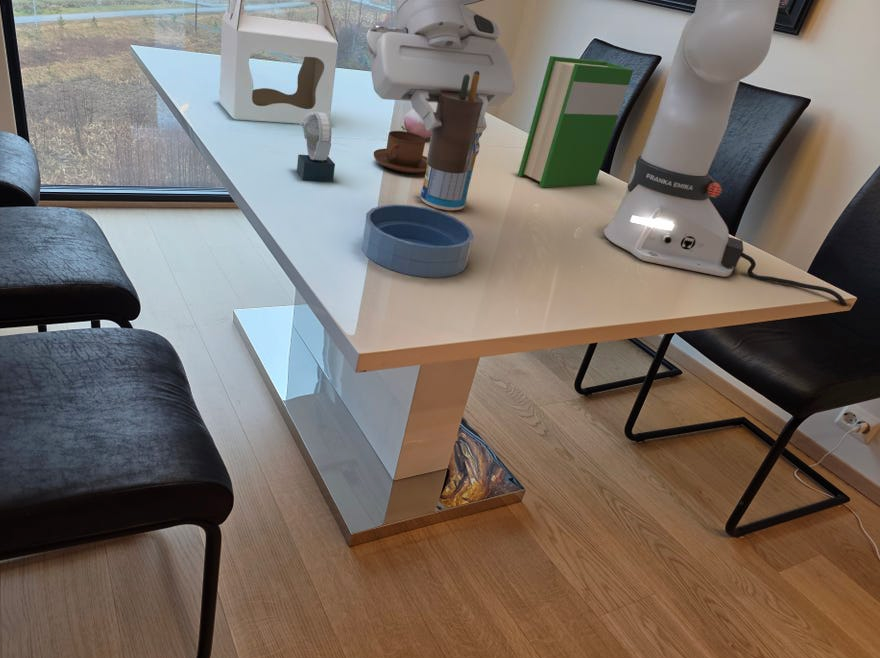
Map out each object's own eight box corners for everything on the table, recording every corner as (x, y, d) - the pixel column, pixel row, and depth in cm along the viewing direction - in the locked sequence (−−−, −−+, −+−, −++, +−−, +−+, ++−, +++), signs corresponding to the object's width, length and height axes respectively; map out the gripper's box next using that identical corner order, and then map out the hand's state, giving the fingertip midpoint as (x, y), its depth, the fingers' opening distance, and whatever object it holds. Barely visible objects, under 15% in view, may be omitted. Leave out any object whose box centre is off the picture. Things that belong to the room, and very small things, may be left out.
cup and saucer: (426, 182, 128) (433, 150, 125) (366, 168, 128) (371, 136, 125) (434, 166, 138) (440, 136, 135) (378, 154, 139) (383, 123, 135)
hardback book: (542, 187, 139) (578, 64, 126) (517, 175, 144) (550, 55, 131) (595, 183, 149) (633, 70, 136) (570, 172, 154) (605, 61, 141)
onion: (409, 141, 152) (414, 109, 148) (395, 131, 158) (400, 100, 154) (439, 143, 155) (446, 111, 152) (425, 133, 161) (431, 102, 157)
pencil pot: (471, 166, 91) (492, 70, 84) (462, 176, 86) (484, 75, 80) (431, 157, 92) (450, 61, 85) (421, 166, 87) (440, 65, 80)
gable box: (311, 110, 161) (324, -22, 146) (330, 126, 151) (346, -13, 137) (218, 103, 151) (222, -39, 136) (232, 119, 141) (238, -31, 127)
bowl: (473, 253, 101) (481, 222, 99) (452, 292, 88) (461, 257, 86) (379, 227, 103) (384, 196, 101) (345, 261, 91) (350, 227, 88)
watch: (323, 169, 123) (330, 108, 117) (335, 185, 117) (343, 121, 111) (293, 168, 121) (299, 105, 115) (304, 183, 115) (311, 118, 109)
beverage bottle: (436, 213, 114) (462, 90, 103) (410, 195, 119) (432, 77, 109) (474, 211, 118) (503, 93, 108) (447, 193, 124) (472, 80, 113)
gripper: (373, 6, 80) (398, 113, 78) (507, 25, 90) (532, 120, 88) (352, 40, 85) (376, 140, 83) (481, 54, 95) (504, 144, 93)
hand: (457, 130), depth 86 cm, fingers closed on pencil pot, 5 cm apart
